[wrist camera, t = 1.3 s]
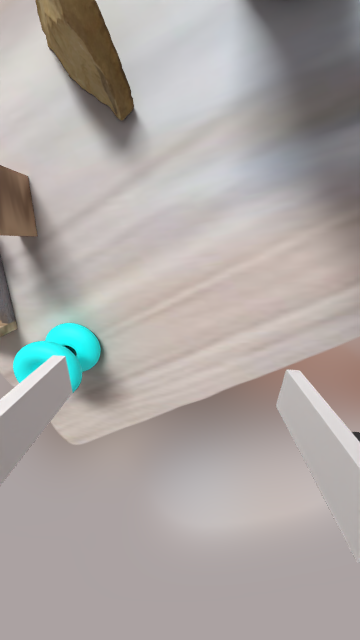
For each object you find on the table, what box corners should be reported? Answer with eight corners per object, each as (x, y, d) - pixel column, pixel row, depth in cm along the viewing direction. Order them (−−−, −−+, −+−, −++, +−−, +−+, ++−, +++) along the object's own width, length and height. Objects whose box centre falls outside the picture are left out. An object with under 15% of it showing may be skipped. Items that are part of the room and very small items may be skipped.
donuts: (48, 337, 27) (88, 392, 30) (84, 312, 36) (112, 357, 39) (-7, 360, 29) (36, 410, 32) (41, 331, 38) (71, 372, 41)
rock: (156, 99, 23) (122, -46, 19) (93, 85, 18) (24, -123, 13) (106, 141, 30) (73, 42, 26) (51, 139, 25) (-5, 15, 20)
